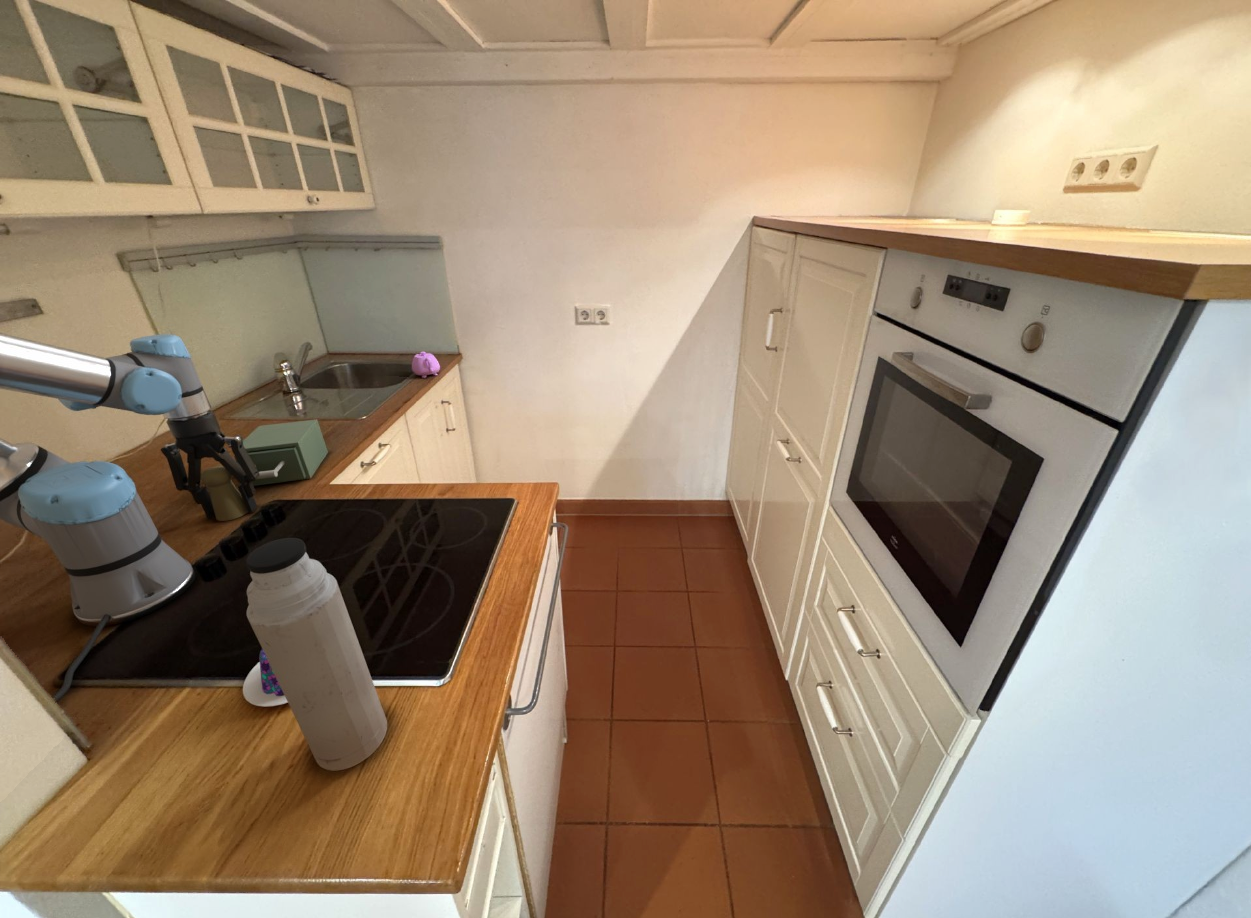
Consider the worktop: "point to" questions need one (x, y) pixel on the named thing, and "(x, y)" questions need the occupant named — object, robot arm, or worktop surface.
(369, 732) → the thermos bottle
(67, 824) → the worktop surface
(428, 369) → the pink rounded figure
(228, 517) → the olive tapered upright piece
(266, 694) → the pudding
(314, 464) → the cabinet
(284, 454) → the drawer
